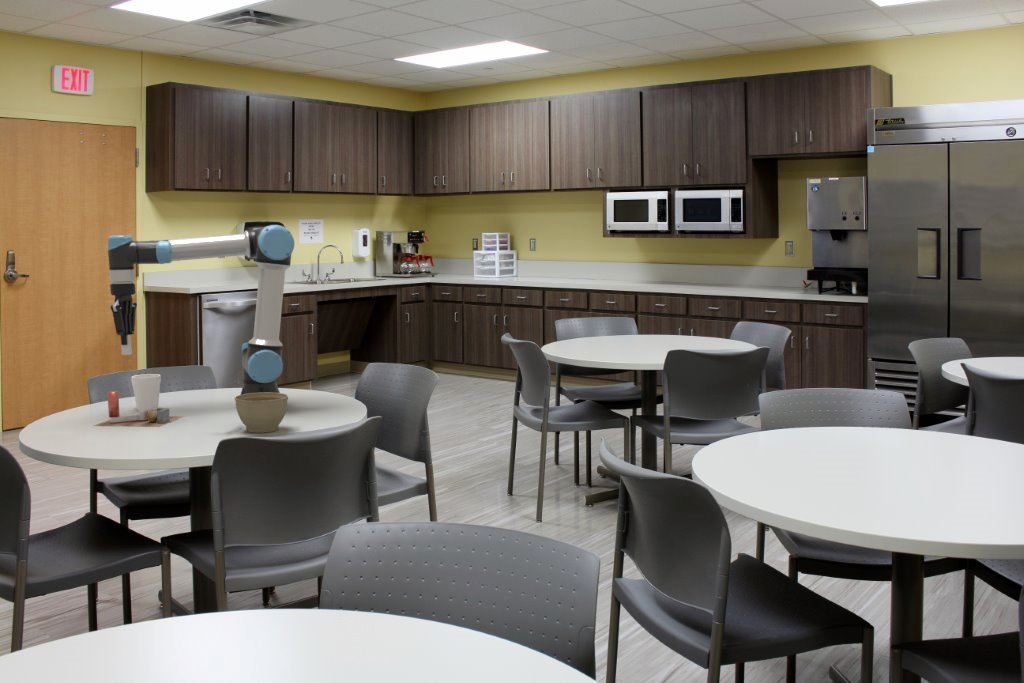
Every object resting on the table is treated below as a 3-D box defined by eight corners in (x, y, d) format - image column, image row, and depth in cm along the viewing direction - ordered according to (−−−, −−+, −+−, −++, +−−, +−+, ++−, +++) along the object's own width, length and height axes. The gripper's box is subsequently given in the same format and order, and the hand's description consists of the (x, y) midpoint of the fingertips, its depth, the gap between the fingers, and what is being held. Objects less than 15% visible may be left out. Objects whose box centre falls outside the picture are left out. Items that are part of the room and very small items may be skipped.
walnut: (161, 421, 306) (160, 410, 305) (155, 423, 302) (155, 412, 302) (150, 421, 306) (150, 410, 306) (145, 423, 302) (144, 412, 302)
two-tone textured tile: (169, 421, 306) (169, 408, 305) (163, 423, 301) (162, 411, 301) (163, 420, 306) (163, 408, 305) (157, 423, 302) (156, 411, 301)
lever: (167, 415, 313) (165, 386, 312) (169, 418, 309) (168, 388, 308) (108, 421, 304) (106, 391, 303) (110, 423, 300) (108, 393, 299)
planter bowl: (261, 437, 286) (260, 402, 285) (225, 432, 295) (223, 397, 294) (300, 428, 300) (298, 394, 299) (263, 423, 308) (262, 390, 307)
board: (183, 421, 313) (183, 406, 313) (159, 431, 297) (158, 416, 296) (120, 420, 316) (119, 405, 315) (92, 430, 299) (92, 415, 298)
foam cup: (168, 411, 330) (166, 375, 329) (147, 416, 322) (146, 378, 321) (148, 409, 334) (146, 373, 333) (127, 414, 326) (125, 377, 325)
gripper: (121, 281, 315) (125, 352, 318) (101, 283, 302) (105, 357, 305) (143, 281, 314) (147, 352, 317) (123, 283, 302) (127, 357, 304)
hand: (126, 354), depth 311 cm, fingers closed
